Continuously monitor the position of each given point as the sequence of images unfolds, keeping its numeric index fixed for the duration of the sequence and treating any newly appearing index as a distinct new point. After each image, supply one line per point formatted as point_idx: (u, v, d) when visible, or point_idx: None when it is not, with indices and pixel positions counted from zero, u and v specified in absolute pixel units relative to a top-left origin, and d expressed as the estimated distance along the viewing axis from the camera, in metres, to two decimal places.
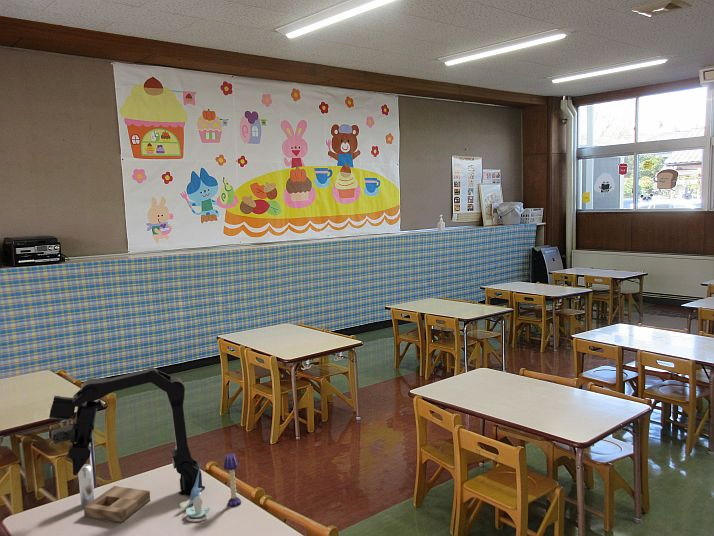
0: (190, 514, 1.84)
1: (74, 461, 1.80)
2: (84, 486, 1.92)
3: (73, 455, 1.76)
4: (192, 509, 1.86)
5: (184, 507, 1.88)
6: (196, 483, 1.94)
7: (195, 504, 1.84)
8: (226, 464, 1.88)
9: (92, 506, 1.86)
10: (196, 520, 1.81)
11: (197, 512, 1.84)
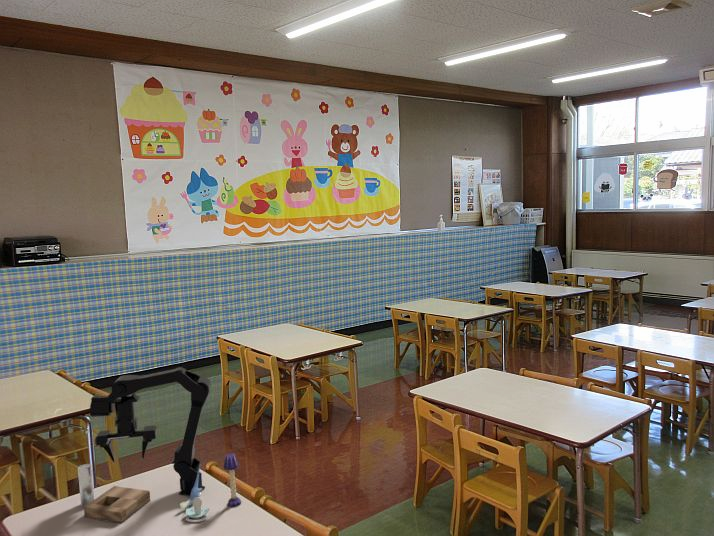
0: (190, 515, 1.83)
1: None
2: (84, 486, 1.92)
3: None
4: (192, 510, 1.86)
5: (184, 507, 1.88)
6: (196, 483, 1.94)
7: (195, 505, 1.84)
8: (226, 464, 1.88)
9: (92, 506, 1.86)
10: (196, 521, 1.81)
11: (197, 513, 1.84)
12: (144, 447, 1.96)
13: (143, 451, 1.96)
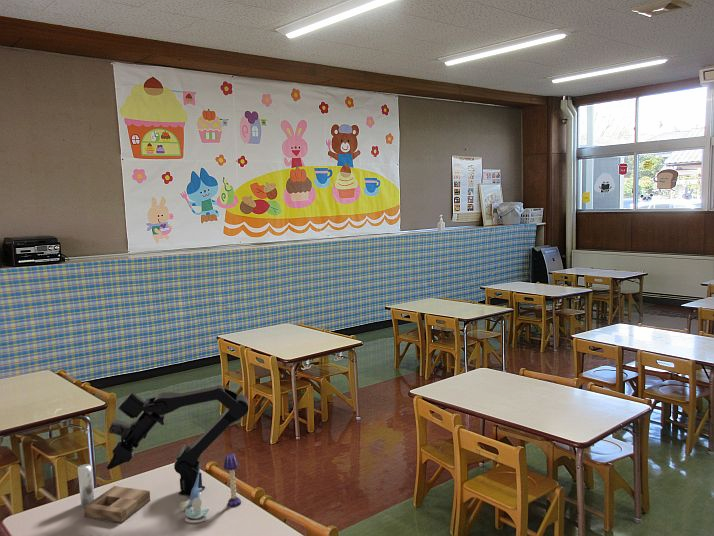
0: (189, 515, 1.83)
1: (114, 457, 1.88)
2: (84, 486, 1.92)
3: (117, 452, 1.85)
4: (191, 510, 1.86)
5: (184, 507, 1.88)
6: (196, 483, 1.94)
7: (194, 505, 1.84)
8: (226, 464, 1.88)
9: (92, 506, 1.86)
10: (195, 521, 1.81)
11: (196, 513, 1.84)
12: None
13: None
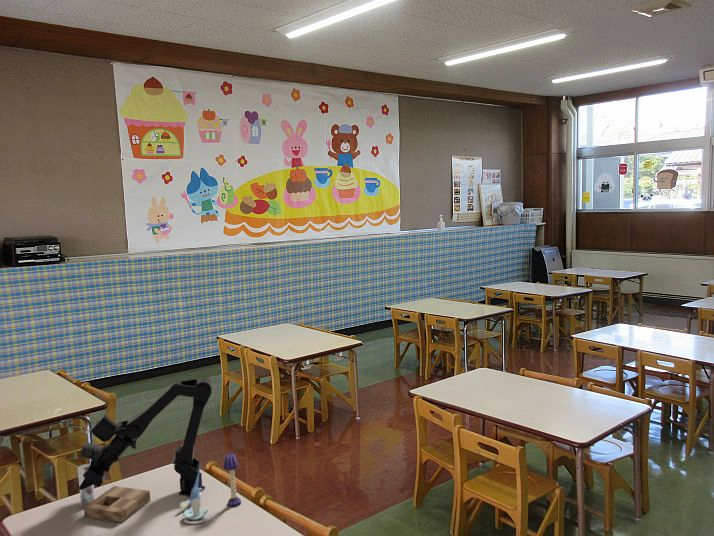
0: (188, 516, 1.82)
1: (86, 478, 1.90)
2: None
3: (87, 477, 1.84)
4: (190, 511, 1.85)
5: (184, 507, 1.88)
6: (196, 483, 1.94)
7: (193, 506, 1.83)
8: (226, 464, 1.88)
9: (92, 506, 1.86)
10: (194, 522, 1.80)
11: (195, 514, 1.83)
12: None
13: None
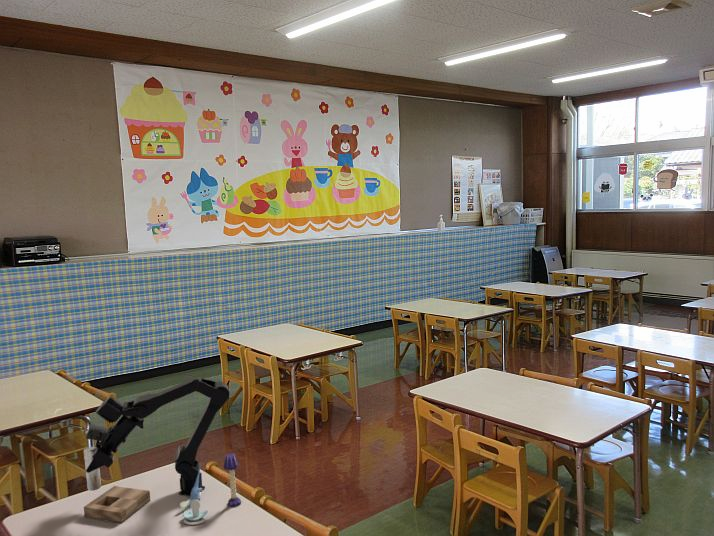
0: (188, 517, 1.82)
1: (94, 460, 1.87)
2: None
3: (97, 458, 1.82)
4: (190, 512, 1.85)
5: (184, 507, 1.88)
6: (196, 483, 1.94)
7: (193, 507, 1.83)
8: (226, 464, 1.88)
9: (92, 506, 1.86)
10: (194, 523, 1.80)
11: (195, 515, 1.83)
12: None
13: None
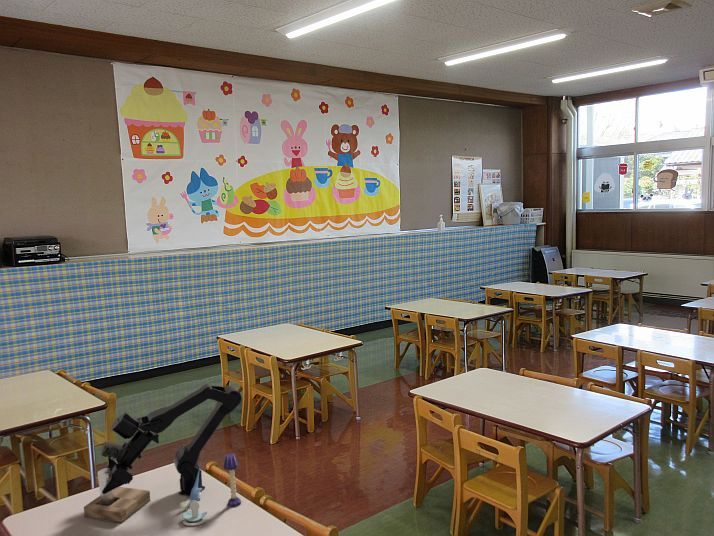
0: (187, 518, 1.81)
1: (111, 481, 1.83)
2: None
3: (118, 475, 1.81)
4: (189, 513, 1.84)
5: (184, 507, 1.88)
6: (196, 483, 1.94)
7: (192, 508, 1.82)
8: (226, 464, 1.88)
9: (92, 506, 1.86)
10: (193, 524, 1.79)
11: (194, 516, 1.82)
12: None
13: None
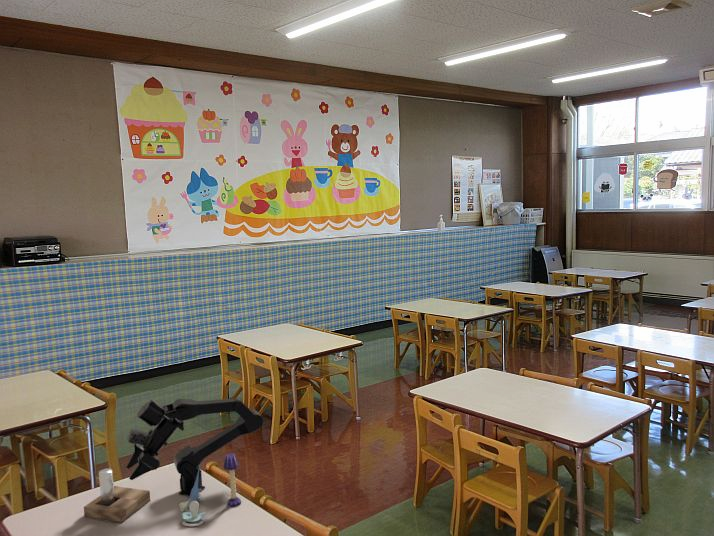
0: (186, 518, 1.81)
1: (138, 467, 1.86)
2: (107, 491, 1.87)
3: (145, 461, 1.84)
4: (188, 513, 1.84)
5: (184, 507, 1.88)
6: (196, 483, 1.94)
7: (191, 508, 1.82)
8: (226, 464, 1.88)
9: (92, 506, 1.86)
10: (192, 525, 1.79)
11: (193, 516, 1.82)
12: None
13: None
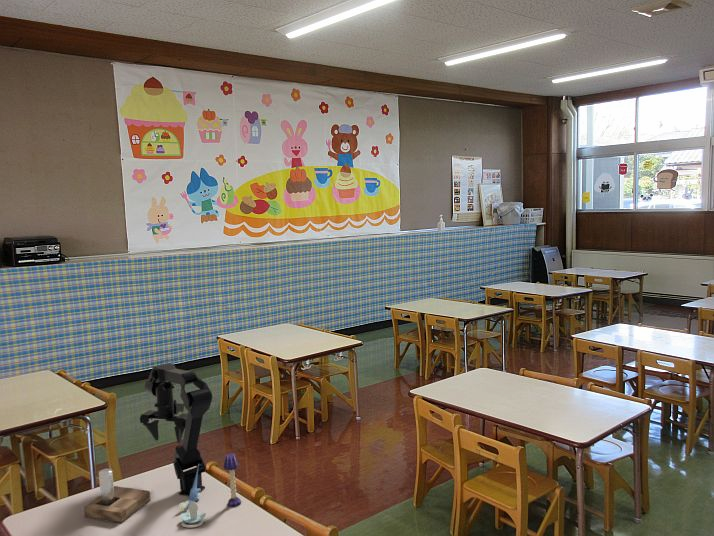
0: (185, 520, 1.80)
1: None
2: (107, 491, 1.87)
3: None
4: (188, 514, 1.83)
5: (183, 508, 1.88)
6: (195, 483, 1.94)
7: (191, 509, 1.81)
8: (226, 464, 1.88)
9: (92, 506, 1.86)
10: (191, 526, 1.78)
11: (193, 518, 1.81)
12: (177, 433, 2.07)
13: (177, 436, 2.08)
